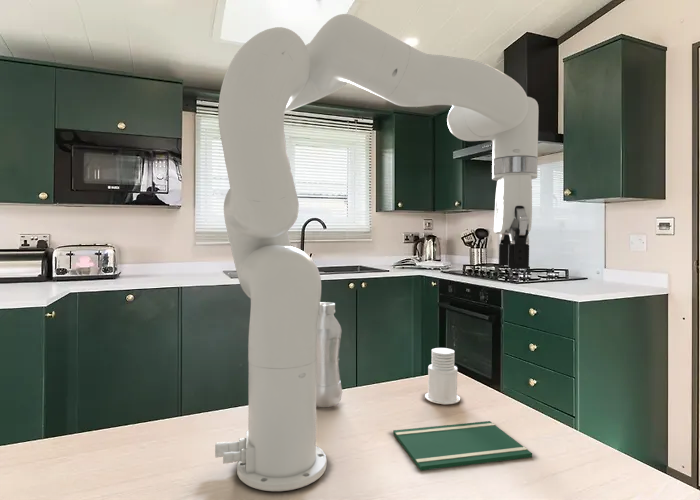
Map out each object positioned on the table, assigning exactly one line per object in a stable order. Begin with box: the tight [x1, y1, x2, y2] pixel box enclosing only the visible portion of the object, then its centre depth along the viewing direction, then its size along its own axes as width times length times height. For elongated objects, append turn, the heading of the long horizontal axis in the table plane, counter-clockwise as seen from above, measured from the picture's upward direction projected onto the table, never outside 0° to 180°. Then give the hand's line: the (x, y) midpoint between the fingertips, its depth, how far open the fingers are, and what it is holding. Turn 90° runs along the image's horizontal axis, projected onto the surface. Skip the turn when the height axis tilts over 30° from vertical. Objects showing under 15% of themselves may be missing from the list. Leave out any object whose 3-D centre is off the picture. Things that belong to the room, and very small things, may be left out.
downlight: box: [424, 347, 461, 406], centre depth 90 cm, size 8×7×10 cm
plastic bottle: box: [316, 301, 343, 408], centre depth 86 cm, size 6×7×20 cm
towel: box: [392, 420, 533, 471], centre depth 70 cm, size 18×12×1 cm, turn 103°
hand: (512, 266), depth 78 cm, fingers open, 9 cm apart
